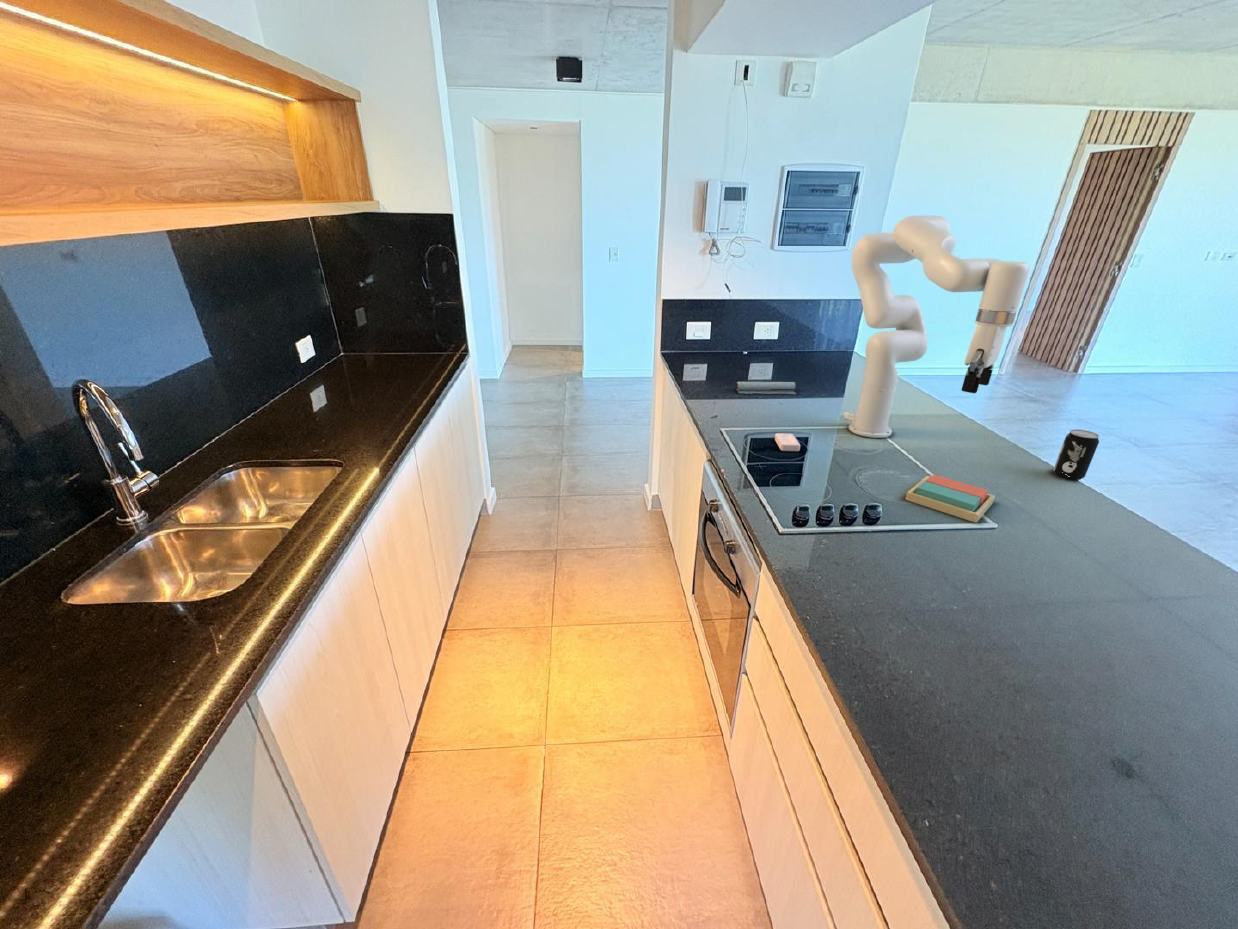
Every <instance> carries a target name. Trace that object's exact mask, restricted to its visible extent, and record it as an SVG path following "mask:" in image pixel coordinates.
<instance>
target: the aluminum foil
mask: <svg viewBox="0 0 1238 929" xmlns="http://www.w3.org/2000/svg"><path fill="white" fill-rule="evenodd" d="M736 387H737V388H738V389H737V388H736ZM735 389H736V391H737V393H738V394H746V395H747V394H750V395H751V394H763V395H765V394H767V395H768V394H769V395H770V394H782V395H797V392H796V391H795V390H796V382H795V381H737V382H736V385H735ZM771 389H795V390H771Z"/></svg>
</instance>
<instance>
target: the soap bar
mask: <svg viewBox="0 0 1238 929" xmlns="http://www.w3.org/2000/svg"><path fill="white" fill-rule="evenodd" d="M774 441H775V443H776V444H777V446H778V447H779V450H780V451H781V452H799V451H800V450H801V444H800V442H799V440H797V438H796V437H795V435H794V434H793V433H780V432H779V433H777V432H776V433H775V434H774Z"/></svg>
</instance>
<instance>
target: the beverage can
mask: <svg viewBox="0 0 1238 929" xmlns="http://www.w3.org/2000/svg"><path fill="white" fill-rule="evenodd" d="M1099 438H1100V434H1098V433H1096V432H1094V431H1090V430H1086V429H1077V428H1076V429H1071V430H1069V432H1068V433H1067V434H1066V435H1065V438H1064V440H1063V443H1062V445H1061V448H1060V450H1059V453H1058V457H1057V458H1056V461H1055V463H1054V467H1055V468H1054V467H1053V470H1052V472H1054V475H1056V476H1058V477H1059V478H1062V479H1066V480H1069V481H1080V480H1083V479H1084V478H1085V477H1086V476H1087V473H1088V470H1089V467H1090V466H1091V463H1092V460H1093V458H1094V456H1095V453H1096V452H1097V449H1098V447H1099V443H1100V440H1099ZM1062 472H1063V473H1062ZM1065 474H1067V475H1068V476H1070V477H1068V476H1067V475H1065Z"/></svg>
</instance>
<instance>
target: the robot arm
mask: <svg viewBox="0 0 1238 929" xmlns="http://www.w3.org/2000/svg"><path fill="white" fill-rule="evenodd" d="M955 246H956V240H955V237H954V236H953V235H952V234H951V227H950V223H949V222H948V220H947V219H946V218H944V217H943V216H941V215H911V216H906V217H904V218H903V219H900V220H899V221H898V222H897V223H896V225H895V226H894V228H893V230H892V232H874V233H869V234H866V235H864V236H862V237H861V238H859V239H858V241H857V242H856V244H855V245H854V247H853V250H852V254H851V270H852V273H853V276H854V279H855V281H856V284H857V287H858V291H859V295H860V301H861V305H862V310H863V315H864V319H865V322H866V325H867V326H868V327H869V328H871V329H875V330H876V329H877V330H878V329H891V330H883V331H878V332H875V333H874V334H872V335H871V336H869V338H868V340H867V342H866V344H865V366H864V374H863V380H862V383H861V384H862V385H861V388H860V394H859V400H858V406H857V410H856V413H852V412H847V411H845V412H844V413H843V420H844V421H849V422H850V423H849V424H848V430H849V431H850V432H851V433H853V434H855V435H858V436H861V437H866V438H871V439H872V438H873V439H884V438H887V437H888V438H889V437H891V435H892V433H893V429H892V428H891V427H889V422H890V417H891V412H892V409H893V408H892V407H893V403H894V401H895V400H894V399H895V395H896V390H897V385H898V380H899V375H898V374H899V373H898V371H897V367H896V364H897V363H910V362H916V361H918V360H920V359H921V358H923V357H924V356H925V354H926V352H927V349H928V335H927V330H926V326H925V321H924V317H923V312H922V308H921V305H920V303H919V302H918V300H917V299H916V298H915V297H914V296H912V295H907V294H895V293H893V290H892V284H891V280H890V278H889V276H888V274H887V273H886V272H885V270H884V269H882V267H881V266H880V264H883V265H884V264H904V263H909V262H911V261H913V260H915V259H917V260H918V261H919V262H921V263H922V269H923V272H924V275H925V276H926V278H927V279H928V280H929V281H931V282H932V283H933V284H935V285H936V286H937V287H939V288H940V289H942V290H945V291H947V292H951V293H973V292H979V293H980V292H982V294H981V299H980V302H979V306H978V309H977V312H976V317H975V320H974V324H977V326H976V328H975V329H974V332H973V335H972V338H971V341H970V344H969V345H968V350H967V352H966V356H965V359H964V362H963V363H964V365H965V366H968V367H967V370H966V373H965V376H964V380H963V382H962V386H961V392H964V393H968V394H969V393H970V394H977V393H978V391H979V386H980V385H981V386H988V385H989V384H990V382H991V377H992V373H993V371H994V370H993V369H994V366H995V363H996V362H997V360H998V358H999V356H1000V354H1001V353H1000V352H1001V350H1002V346H1003V343H1004V339H1005V335H1006V332H1007V328H1008V327H1012V326H1014V321H1015V319H1016V316H1017V312H1018V309H1019V305H1020V302H1021V299H1022V295H1023V293H1024V289H1025V285H1026V282H1027V280H1028V276H1029V273H1030V265H1029V264H1028V263H1027V262H1023V261H1012V260H1011V261H1010V260H1009V261H1008V260H1005V261H1004V260H1002V259H997V258H959V257H957V256H955V255H954V254H952V253H953V251H954V249H955ZM892 329H893V330H892Z"/></svg>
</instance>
